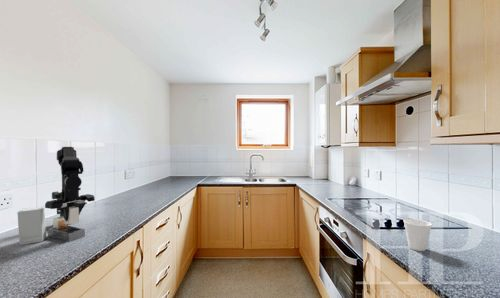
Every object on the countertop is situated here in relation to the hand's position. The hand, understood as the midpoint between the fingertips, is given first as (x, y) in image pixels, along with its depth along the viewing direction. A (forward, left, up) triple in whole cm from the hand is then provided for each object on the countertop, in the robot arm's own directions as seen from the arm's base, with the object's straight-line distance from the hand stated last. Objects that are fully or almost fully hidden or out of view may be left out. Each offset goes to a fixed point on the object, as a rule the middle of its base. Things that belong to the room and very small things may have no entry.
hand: (71, 219), depth 115 cm
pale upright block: (0, 0, -2) cm, 2 cm away
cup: (+145, +50, -9) cm, 154 cm away
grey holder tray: (-4, 0, -8) cm, 9 cm away
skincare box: (-11, -10, -9) cm, 17 cm away
